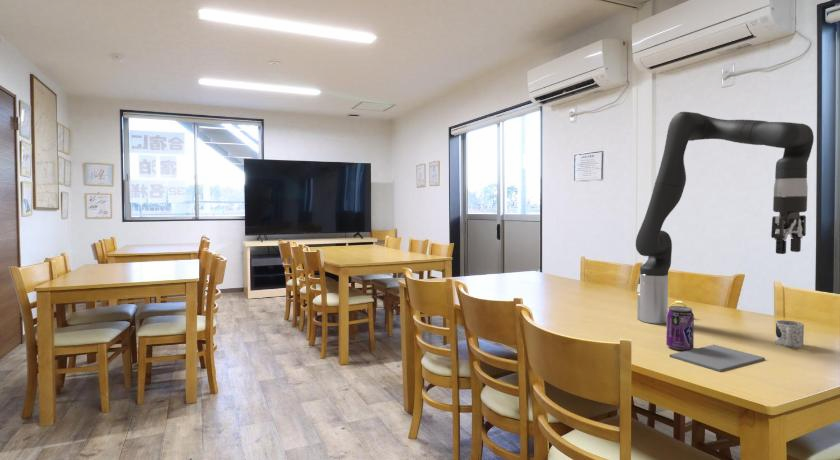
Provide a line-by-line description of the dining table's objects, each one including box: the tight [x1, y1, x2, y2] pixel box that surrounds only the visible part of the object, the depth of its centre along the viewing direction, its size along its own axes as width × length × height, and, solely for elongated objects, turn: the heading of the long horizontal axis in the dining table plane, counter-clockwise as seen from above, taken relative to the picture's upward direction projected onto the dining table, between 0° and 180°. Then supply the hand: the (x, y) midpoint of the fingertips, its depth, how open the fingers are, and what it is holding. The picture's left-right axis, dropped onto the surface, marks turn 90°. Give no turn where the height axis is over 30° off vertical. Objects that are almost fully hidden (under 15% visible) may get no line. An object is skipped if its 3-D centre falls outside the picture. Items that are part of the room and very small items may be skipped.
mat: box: [669, 344, 766, 373], centre depth 133 cm, size 14×20×1 cm
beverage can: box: [665, 305, 695, 351], centre depth 143 cm, size 7×7×12 cm
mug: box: [775, 319, 805, 349], centre depth 144 cm, size 10×7×7 cm, turn 141°
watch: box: [670, 300, 688, 307], centre depth 182 cm, size 6×3×6 cm, turn 53°
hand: (788, 252), depth 136 cm, fingers open, 8 cm apart
